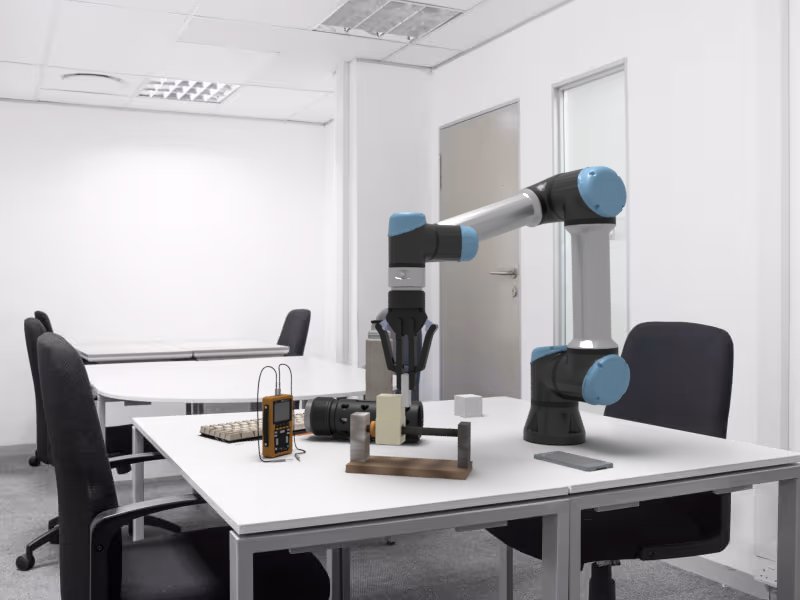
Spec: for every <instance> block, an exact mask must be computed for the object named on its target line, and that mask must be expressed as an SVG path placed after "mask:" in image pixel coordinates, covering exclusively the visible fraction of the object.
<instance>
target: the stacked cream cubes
mask: <svg viewBox="0 0 800 600" xmlns="http://www.w3.org/2000/svg"><path fill="white" fill-rule="evenodd" d="M405 420H406V416H405V407H401V393H399V394H398V393H393V394H380V395H378V396H376V440H375V444H376V445H391V446H393V445H394V446H395V445H396V446H400V445H402V444H403V443H405V442H404V441H405V434H401V426H405Z"/></svg>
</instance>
